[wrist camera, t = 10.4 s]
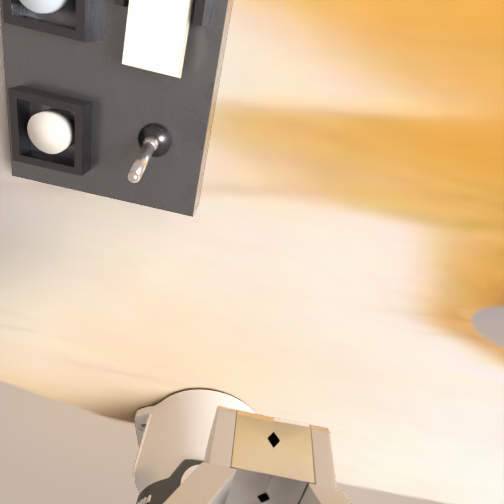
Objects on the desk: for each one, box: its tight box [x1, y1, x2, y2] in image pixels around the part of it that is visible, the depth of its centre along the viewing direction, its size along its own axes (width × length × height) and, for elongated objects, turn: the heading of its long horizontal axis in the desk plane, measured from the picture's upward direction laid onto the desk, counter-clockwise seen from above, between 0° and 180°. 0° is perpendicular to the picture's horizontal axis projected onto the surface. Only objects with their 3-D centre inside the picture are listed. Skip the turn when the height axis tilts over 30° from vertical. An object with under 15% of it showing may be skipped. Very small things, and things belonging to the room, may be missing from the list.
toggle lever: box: [128, 136, 159, 183], centre depth 31 cm, size 1×1×5 cm
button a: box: [27, 110, 75, 154], centre depth 33 cm, size 3×3×1 cm
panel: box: [1, 0, 233, 217], centre depth 31 cm, size 22×16×6 cm
